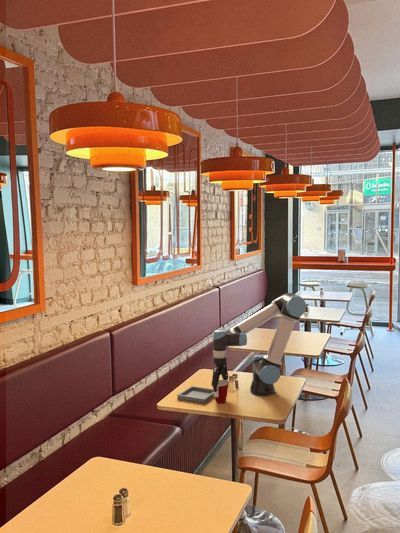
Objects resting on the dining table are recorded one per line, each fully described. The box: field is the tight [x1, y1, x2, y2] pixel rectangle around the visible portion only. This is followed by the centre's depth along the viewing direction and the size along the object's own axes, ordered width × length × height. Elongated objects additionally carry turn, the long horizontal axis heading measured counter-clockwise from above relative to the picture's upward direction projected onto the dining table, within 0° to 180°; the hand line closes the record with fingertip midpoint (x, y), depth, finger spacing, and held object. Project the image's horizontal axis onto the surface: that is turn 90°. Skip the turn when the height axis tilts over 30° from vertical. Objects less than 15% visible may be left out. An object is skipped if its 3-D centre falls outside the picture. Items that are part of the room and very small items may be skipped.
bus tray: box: [177, 385, 215, 405], centre depth 297 cm, size 18×18×3 cm
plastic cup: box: [210, 379, 230, 405], centre depth 288 cm, size 11×11×12 cm
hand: (220, 393), depth 288 cm, fingers closed on plastic cup, 11 cm apart
